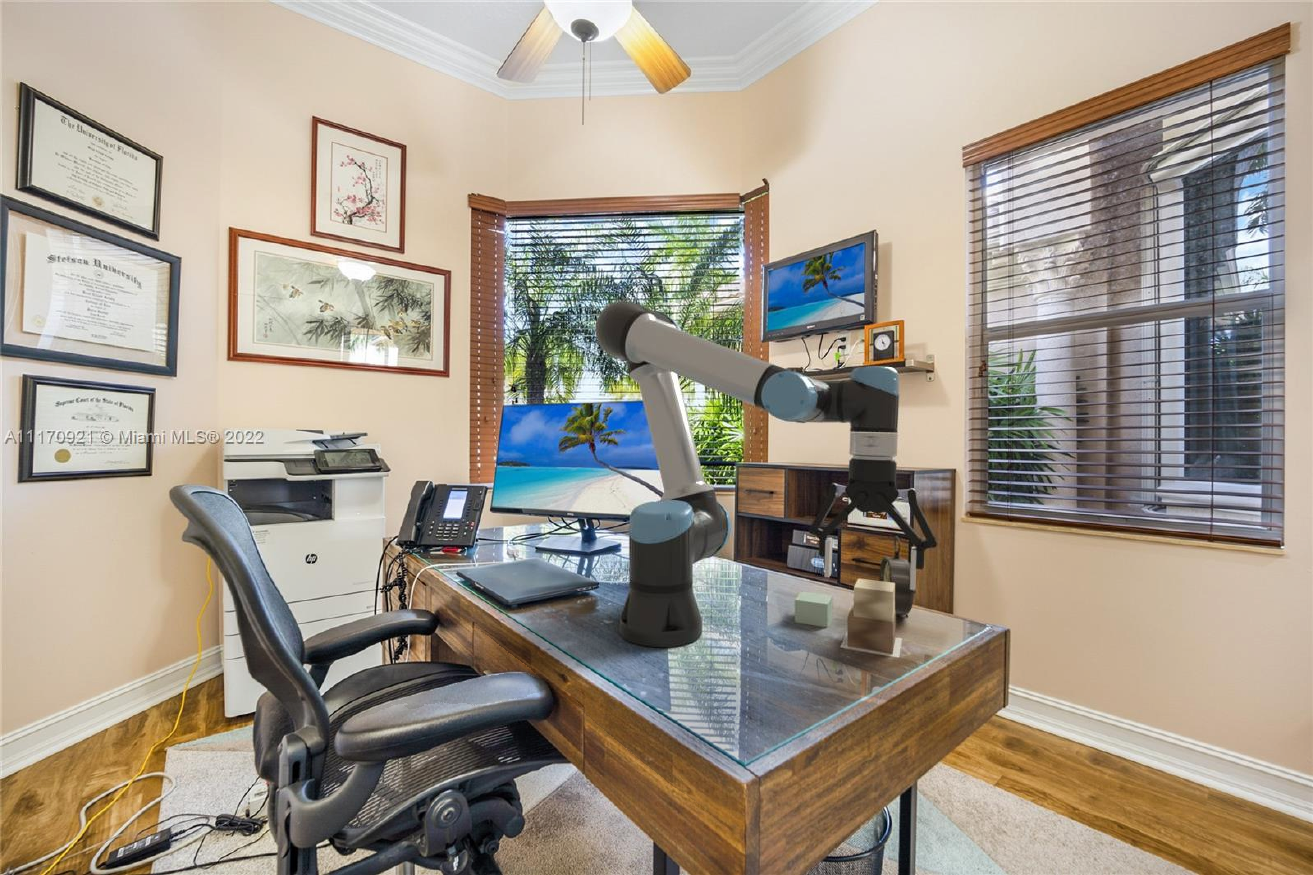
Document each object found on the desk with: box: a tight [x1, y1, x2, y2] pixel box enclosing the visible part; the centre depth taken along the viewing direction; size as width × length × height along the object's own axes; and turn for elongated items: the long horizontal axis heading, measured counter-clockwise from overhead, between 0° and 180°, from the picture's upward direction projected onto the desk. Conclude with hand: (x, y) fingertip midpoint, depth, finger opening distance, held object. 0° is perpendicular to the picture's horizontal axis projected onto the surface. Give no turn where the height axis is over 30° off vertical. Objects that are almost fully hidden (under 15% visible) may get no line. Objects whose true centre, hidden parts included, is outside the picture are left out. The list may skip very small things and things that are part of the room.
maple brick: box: [853, 578, 895, 623], centre depth 90 cm, size 6×6×5 cm
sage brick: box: [794, 591, 834, 628], centre depth 102 cm, size 6×6×5 cm
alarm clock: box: [878, 536, 916, 624], centre depth 104 cm, size 11×5×16 cm, turn 167°
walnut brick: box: [846, 604, 897, 654], centre depth 91 cm, size 7×7×5 cm
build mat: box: [840, 632, 903, 659], centre depth 91 cm, size 9×9×1 cm
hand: (868, 581), depth 91 cm, fingers open, 13 cm apart
